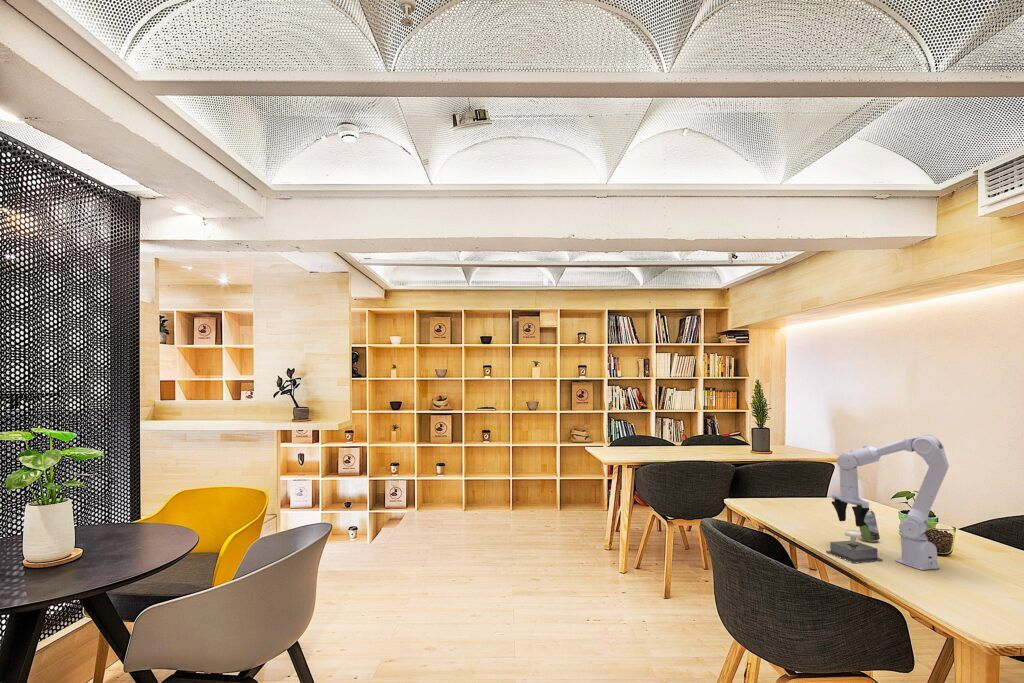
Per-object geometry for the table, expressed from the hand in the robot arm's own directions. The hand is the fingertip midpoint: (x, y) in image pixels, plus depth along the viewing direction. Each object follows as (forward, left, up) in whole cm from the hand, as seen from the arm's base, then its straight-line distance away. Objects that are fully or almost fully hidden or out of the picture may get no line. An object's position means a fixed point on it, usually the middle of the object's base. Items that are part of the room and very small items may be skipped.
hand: (850, 523), depth 199 cm
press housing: (-5, +5, -10) cm, 12 cm away
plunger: (-5, +5, -6) cm, 9 cm away
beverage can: (+10, -17, -10) cm, 22 cm away
